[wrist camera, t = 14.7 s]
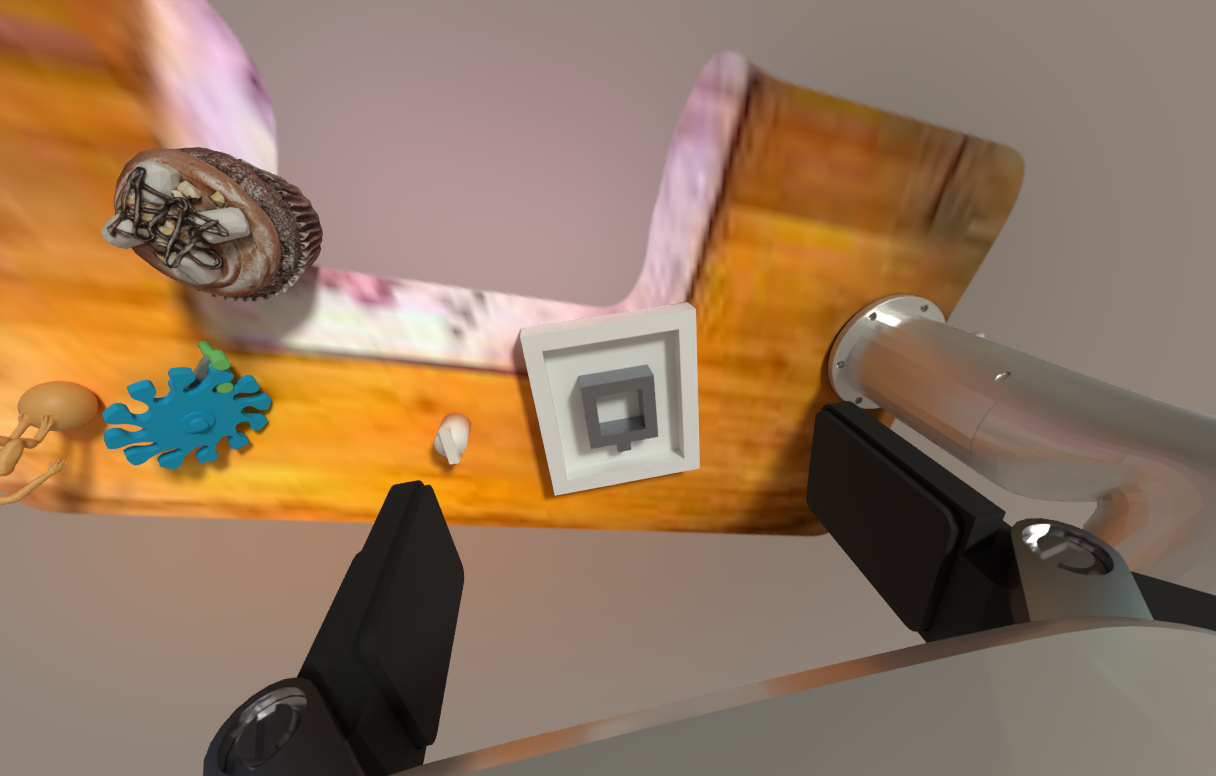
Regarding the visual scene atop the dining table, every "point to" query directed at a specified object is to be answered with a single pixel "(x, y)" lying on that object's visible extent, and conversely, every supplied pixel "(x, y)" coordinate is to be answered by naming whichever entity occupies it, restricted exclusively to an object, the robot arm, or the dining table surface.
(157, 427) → the blue virus model
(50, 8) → the dining table surface
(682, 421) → the tray
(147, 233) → the cupcake
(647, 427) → the grey square frame
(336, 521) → the dining table surface
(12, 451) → the figurine
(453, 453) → the white rounded knob
